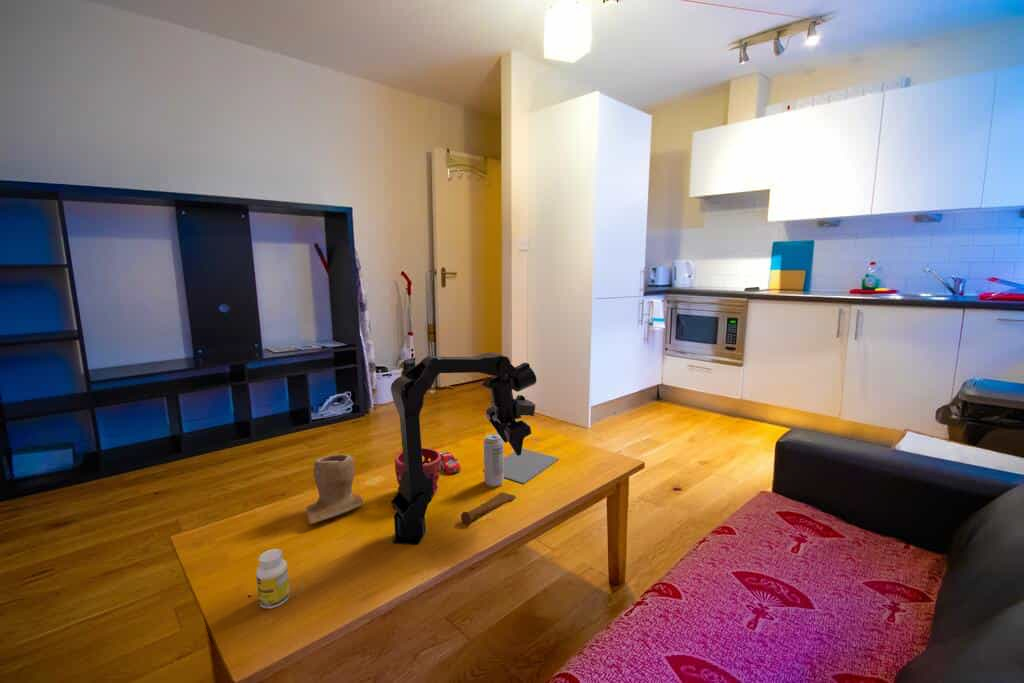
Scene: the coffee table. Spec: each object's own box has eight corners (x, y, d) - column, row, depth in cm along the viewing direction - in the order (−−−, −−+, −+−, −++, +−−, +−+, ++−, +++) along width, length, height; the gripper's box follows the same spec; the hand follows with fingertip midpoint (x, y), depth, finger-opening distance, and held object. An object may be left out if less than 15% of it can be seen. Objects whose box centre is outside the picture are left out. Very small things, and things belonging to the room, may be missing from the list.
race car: (462, 473, 143) (462, 462, 143) (446, 477, 141) (446, 465, 140) (450, 458, 155) (450, 447, 155) (435, 461, 153) (435, 450, 152)
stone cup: (351, 493, 130) (348, 445, 128) (368, 509, 122) (365, 457, 119) (296, 512, 120) (292, 460, 118) (311, 530, 112) (306, 475, 109)
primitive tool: (502, 493, 130) (502, 482, 130) (517, 498, 127) (517, 487, 127) (458, 523, 115) (458, 511, 114) (475, 530, 112) (475, 518, 111)
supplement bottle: (252, 605, 87) (247, 560, 85) (276, 587, 92) (271, 544, 90) (273, 613, 85) (268, 566, 83) (296, 593, 90) (292, 549, 88)
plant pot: (401, 509, 121) (399, 468, 119) (393, 488, 133) (391, 451, 131) (447, 499, 126) (446, 459, 125) (435, 480, 138) (434, 443, 137)
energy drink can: (495, 476, 140) (494, 431, 138) (508, 483, 136) (507, 436, 134) (480, 482, 136) (479, 436, 134) (493, 489, 132) (492, 441, 130)
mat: (523, 484, 135) (523, 482, 135) (483, 471, 144) (483, 469, 144) (559, 459, 153) (559, 458, 153) (521, 449, 162) (521, 448, 162)
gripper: (544, 398, 114) (553, 452, 119) (515, 380, 131) (524, 427, 135) (505, 412, 111) (515, 466, 115) (480, 391, 127) (490, 439, 132)
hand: (512, 448), depth 124 cm, fingers open, 9 cm apart
